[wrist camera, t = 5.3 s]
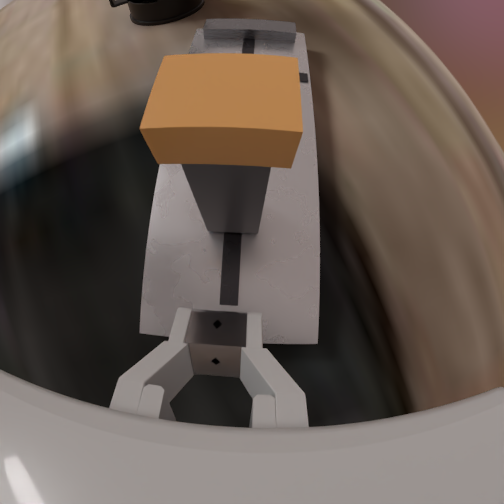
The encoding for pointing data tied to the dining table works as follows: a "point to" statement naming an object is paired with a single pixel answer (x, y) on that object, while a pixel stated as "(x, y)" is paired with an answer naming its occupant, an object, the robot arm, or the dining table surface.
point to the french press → (159, 10)
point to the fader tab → (226, 129)
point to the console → (241, 244)
